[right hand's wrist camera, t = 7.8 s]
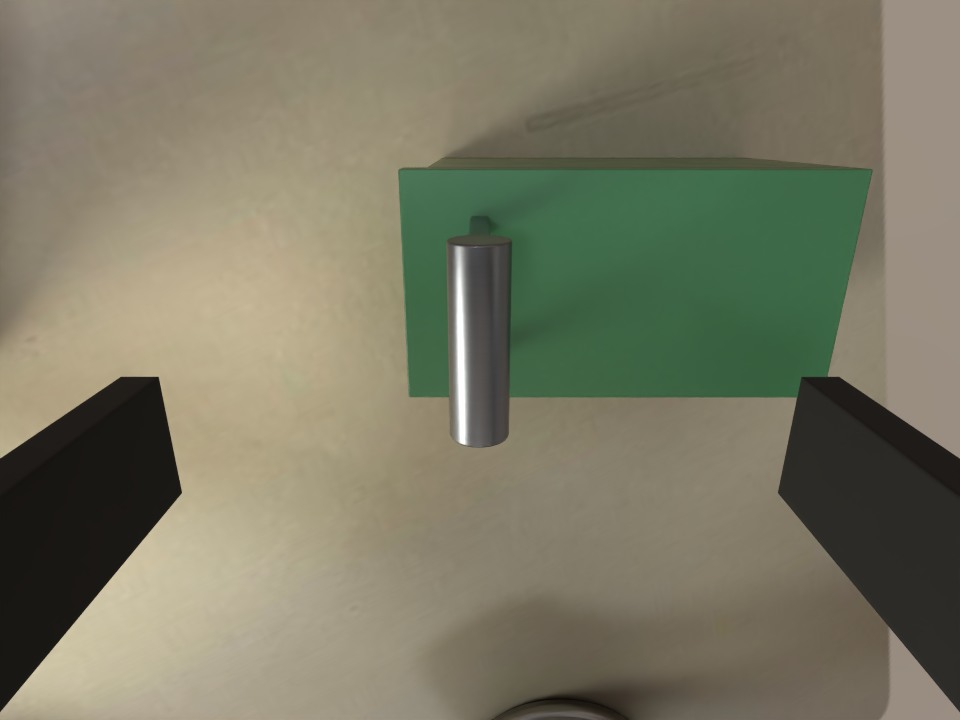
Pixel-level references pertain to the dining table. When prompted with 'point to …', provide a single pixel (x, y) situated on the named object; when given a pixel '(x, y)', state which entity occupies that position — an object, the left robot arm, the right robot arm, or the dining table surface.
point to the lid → (621, 283)
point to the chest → (619, 163)
